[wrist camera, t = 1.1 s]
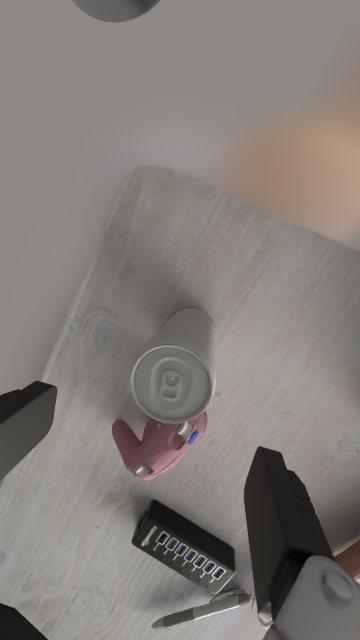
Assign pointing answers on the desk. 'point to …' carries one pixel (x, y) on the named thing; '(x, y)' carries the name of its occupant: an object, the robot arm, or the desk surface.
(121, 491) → the desk surface
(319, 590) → the robot arm
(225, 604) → the pen
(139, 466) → the video game controller
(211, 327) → the beverage can
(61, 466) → the desk surface
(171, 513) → the multiport hub
